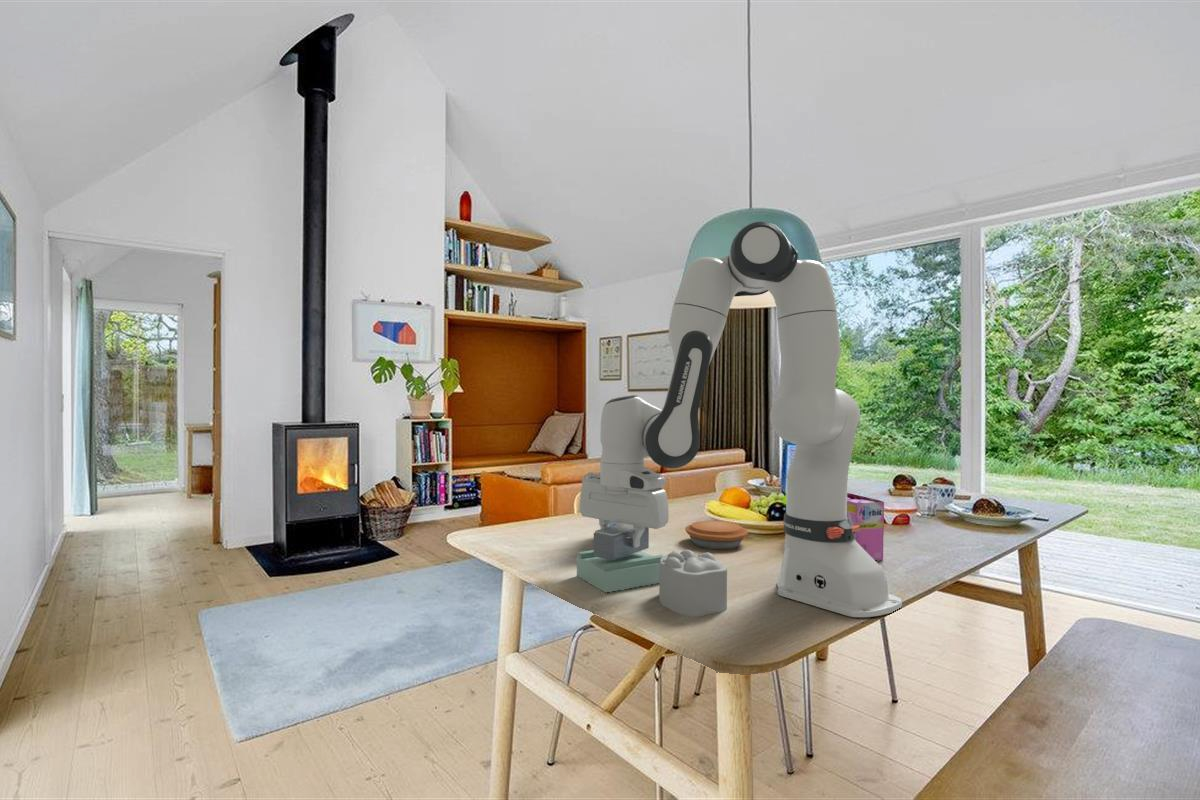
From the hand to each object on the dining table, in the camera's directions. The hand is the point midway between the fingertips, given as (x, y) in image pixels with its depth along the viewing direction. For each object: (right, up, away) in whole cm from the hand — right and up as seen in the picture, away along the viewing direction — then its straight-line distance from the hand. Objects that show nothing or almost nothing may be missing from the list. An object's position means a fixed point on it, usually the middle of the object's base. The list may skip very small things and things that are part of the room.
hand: (621, 544), depth 120 cm
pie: (+25, -7, +29) cm, 39 cm away
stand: (0, -7, 0) cm, 7 cm away
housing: (0, -2, 0) cm, 2 cm away
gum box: (+54, -7, +25) cm, 59 cm away
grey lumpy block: (+12, -8, -13) cm, 19 cm away
